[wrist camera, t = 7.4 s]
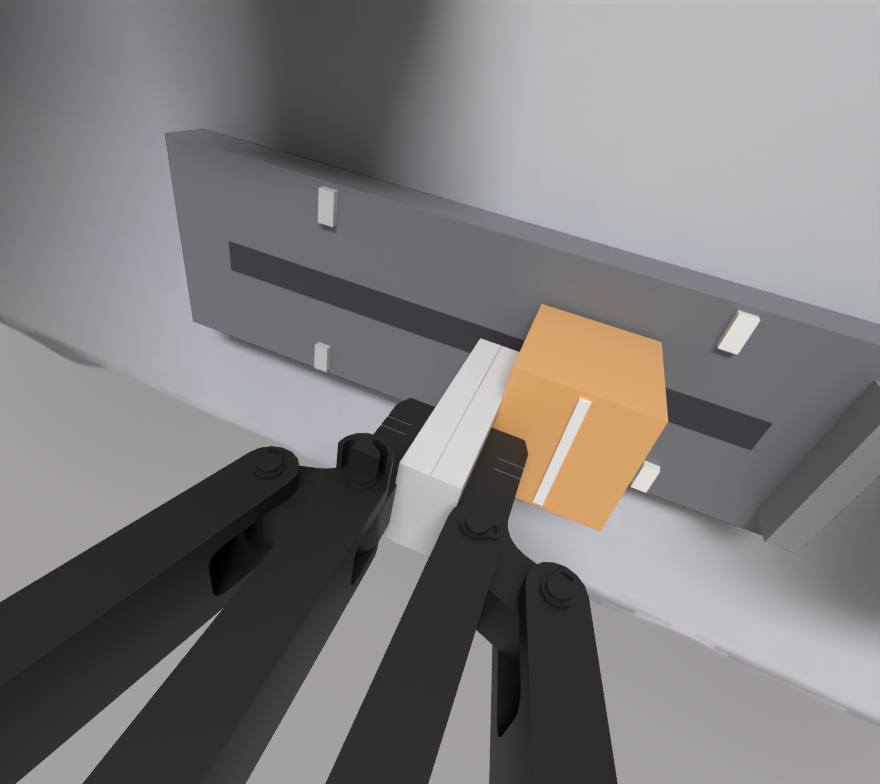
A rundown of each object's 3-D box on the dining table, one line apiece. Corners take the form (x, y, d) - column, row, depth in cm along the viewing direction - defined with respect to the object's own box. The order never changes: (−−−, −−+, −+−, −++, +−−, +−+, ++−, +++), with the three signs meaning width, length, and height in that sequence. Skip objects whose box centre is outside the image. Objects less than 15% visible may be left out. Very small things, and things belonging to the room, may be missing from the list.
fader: (507, 405, 18) (473, 483, 15) (541, 303, 16) (511, 369, 12) (608, 441, 18) (599, 533, 14) (661, 342, 15) (668, 423, 11)
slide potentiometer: (223, 305, 24) (168, 334, 21) (204, 129, 19) (129, 136, 16) (757, 500, 19) (777, 570, 16) (907, 332, 15) (970, 391, 12)
